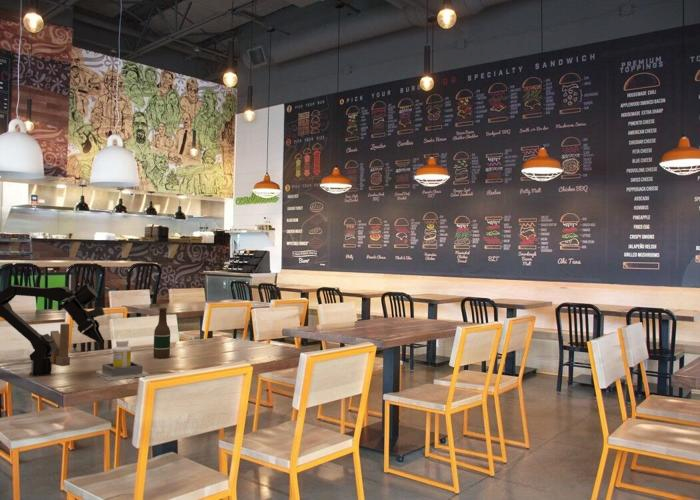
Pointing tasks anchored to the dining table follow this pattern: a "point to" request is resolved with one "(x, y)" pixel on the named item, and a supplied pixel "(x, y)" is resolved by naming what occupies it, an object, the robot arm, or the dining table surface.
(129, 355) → the supplement bottle
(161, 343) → the beer bottle
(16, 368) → the dining table surface
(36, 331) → the robot arm
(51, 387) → the dining table surface
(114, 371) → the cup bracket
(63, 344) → the wooden block
